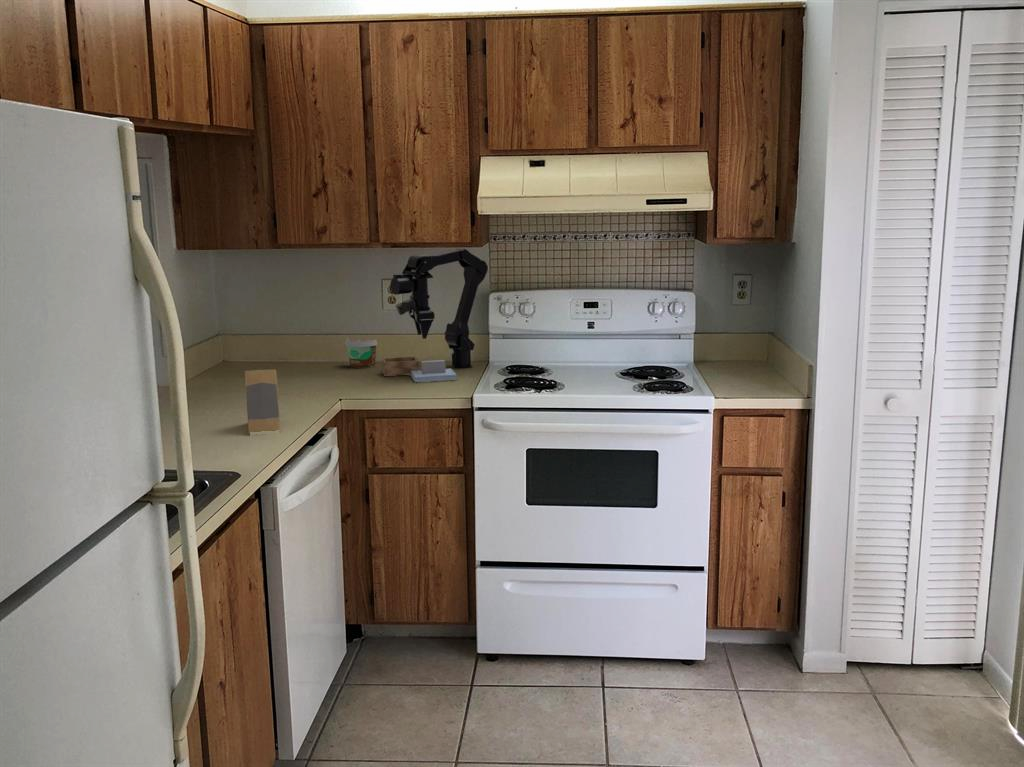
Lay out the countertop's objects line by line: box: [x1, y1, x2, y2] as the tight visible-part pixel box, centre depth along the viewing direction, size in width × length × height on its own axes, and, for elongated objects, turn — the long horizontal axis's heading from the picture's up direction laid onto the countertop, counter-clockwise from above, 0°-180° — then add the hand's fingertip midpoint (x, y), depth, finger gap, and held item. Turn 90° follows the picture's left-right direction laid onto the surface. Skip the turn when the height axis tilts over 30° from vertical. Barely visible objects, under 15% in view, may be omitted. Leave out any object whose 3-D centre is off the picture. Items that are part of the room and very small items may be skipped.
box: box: [381, 355, 420, 377], centre depth 324 cm, size 12×9×5 cm
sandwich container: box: [244, 368, 281, 434], centre depth 251 cm, size 9×15×15 cm, turn 15°
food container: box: [345, 338, 379, 369], centre depth 337 cm, size 12×6×10 cm, turn 73°
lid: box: [410, 359, 458, 384], centre depth 315 cm, size 14×11×6 cm
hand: (421, 336), depth 323 cm, fingers open, 9 cm apart
